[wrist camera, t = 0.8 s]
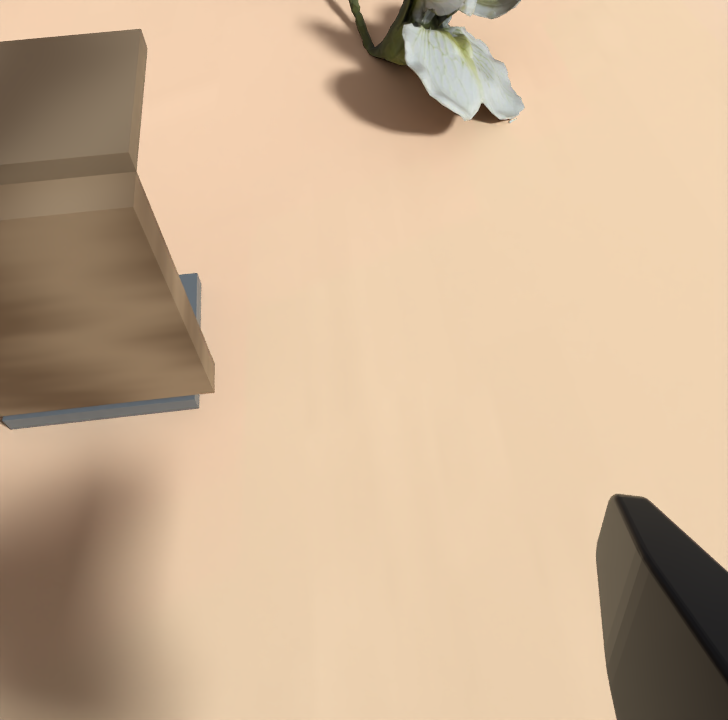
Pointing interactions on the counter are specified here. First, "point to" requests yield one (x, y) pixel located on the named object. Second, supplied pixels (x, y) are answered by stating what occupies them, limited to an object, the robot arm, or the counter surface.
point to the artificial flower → (448, 54)
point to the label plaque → (119, 409)
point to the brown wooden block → (84, 236)
